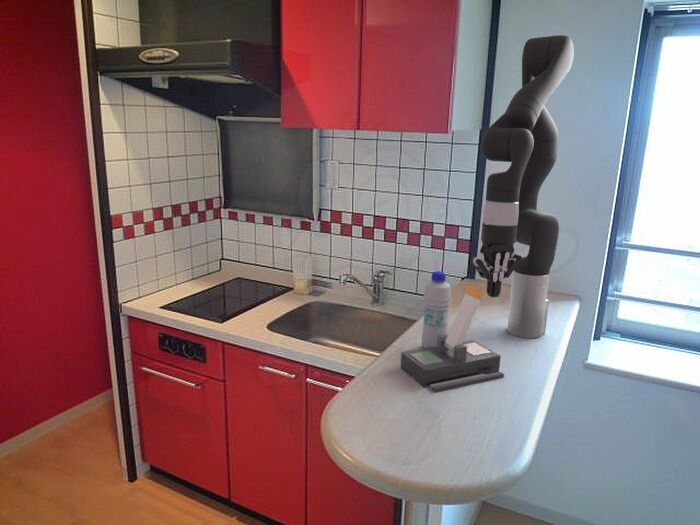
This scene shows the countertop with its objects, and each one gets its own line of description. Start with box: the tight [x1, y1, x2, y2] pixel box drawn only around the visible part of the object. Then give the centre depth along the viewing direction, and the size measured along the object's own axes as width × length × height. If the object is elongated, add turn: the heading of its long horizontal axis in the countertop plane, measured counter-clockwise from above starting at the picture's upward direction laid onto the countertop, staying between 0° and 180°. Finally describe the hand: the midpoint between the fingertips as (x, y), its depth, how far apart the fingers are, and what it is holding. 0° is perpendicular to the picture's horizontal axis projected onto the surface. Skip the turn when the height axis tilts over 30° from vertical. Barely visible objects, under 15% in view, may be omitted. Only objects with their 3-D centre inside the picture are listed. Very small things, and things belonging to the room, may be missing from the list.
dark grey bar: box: [429, 371, 505, 393], centre depth 114 cm, size 18×2×1 cm, turn 114°
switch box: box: [400, 333, 501, 389], centre depth 119 cm, size 20×10×7 cm, turn 115°
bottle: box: [421, 270, 452, 348], centre depth 129 cm, size 7×7×20 cm
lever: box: [444, 285, 485, 352], centre depth 118 cm, size 2×4×15 cm, turn 25°
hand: (492, 296), depth 120 cm, fingers closed
